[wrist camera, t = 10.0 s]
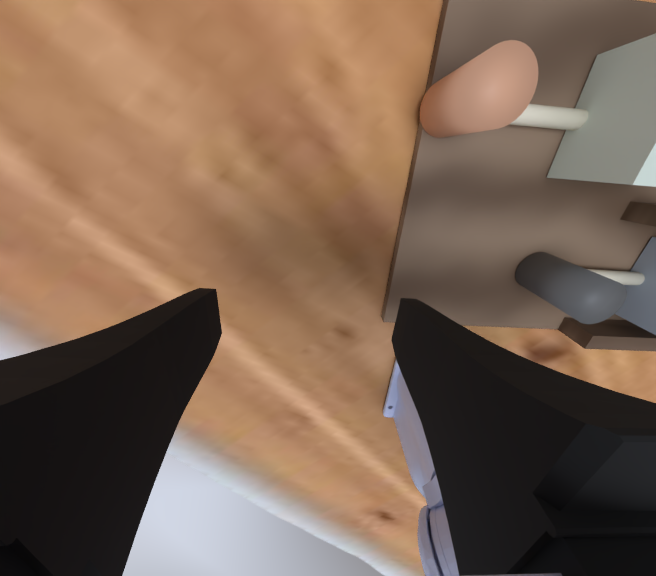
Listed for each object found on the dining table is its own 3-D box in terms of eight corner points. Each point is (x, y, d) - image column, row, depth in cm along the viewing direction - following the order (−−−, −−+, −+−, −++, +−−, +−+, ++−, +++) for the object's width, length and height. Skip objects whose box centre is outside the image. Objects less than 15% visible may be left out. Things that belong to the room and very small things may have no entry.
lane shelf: (684, 329, 24) (737, 354, 21) (381, 316, 22) (391, 341, 19) (918, 48, 15) (1067, 21, 12) (446, -15, 13) (484, -65, 10)
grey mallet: (672, 312, 22) (766, 352, 17) (501, 304, 21) (553, 344, 16) (727, 242, 19) (855, 268, 14) (534, 228, 18) (606, 252, 13)
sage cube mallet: (633, 184, 17) (748, 194, 12) (408, 166, 16) (445, 169, 11) (699, 67, 14) (875, 24, 10) (434, 35, 13) (494, -28, 9)
